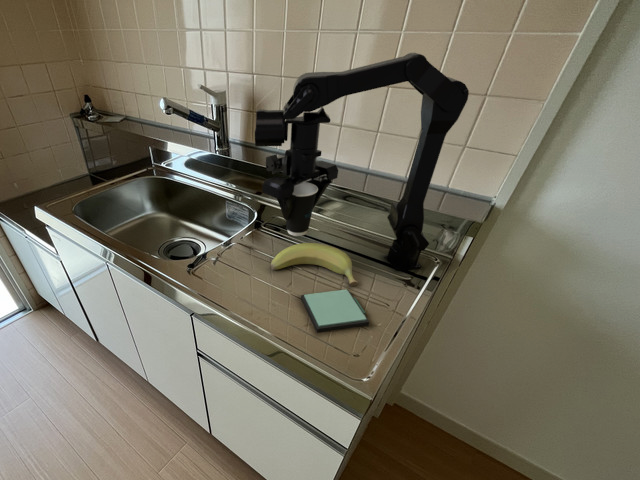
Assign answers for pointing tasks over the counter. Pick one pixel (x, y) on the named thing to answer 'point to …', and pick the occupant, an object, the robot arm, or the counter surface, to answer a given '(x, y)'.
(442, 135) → the robot arm
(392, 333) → the counter surface
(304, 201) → the dixie cup
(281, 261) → the banana
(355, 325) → the scale
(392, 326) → the counter surface
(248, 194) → the counter surface
